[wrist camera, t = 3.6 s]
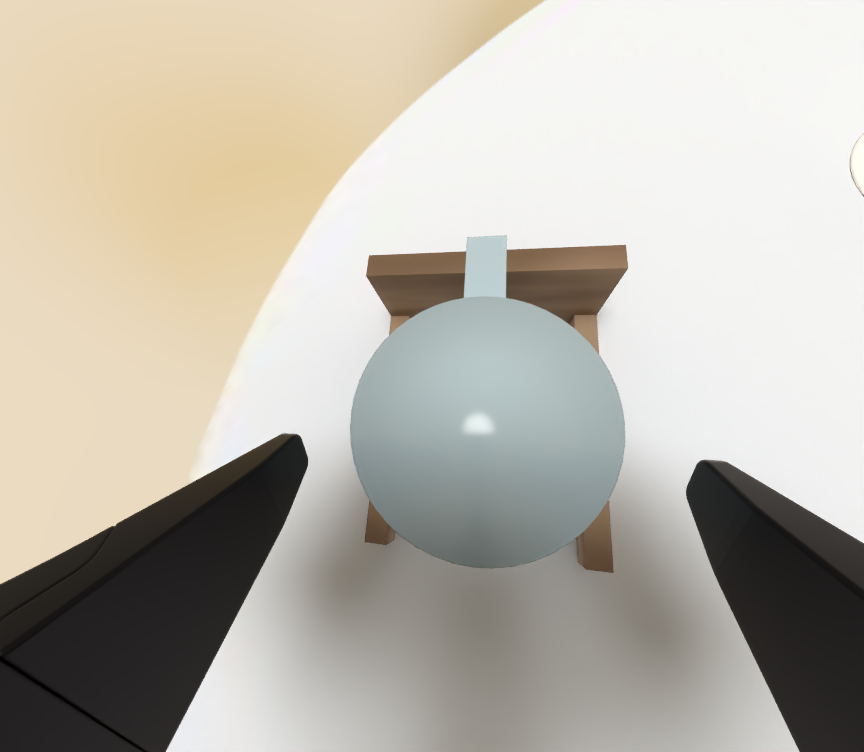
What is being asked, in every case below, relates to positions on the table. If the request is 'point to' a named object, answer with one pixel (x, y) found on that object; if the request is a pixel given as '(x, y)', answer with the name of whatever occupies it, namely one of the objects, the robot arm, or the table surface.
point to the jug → (487, 425)
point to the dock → (525, 281)
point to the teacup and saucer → (858, 163)
